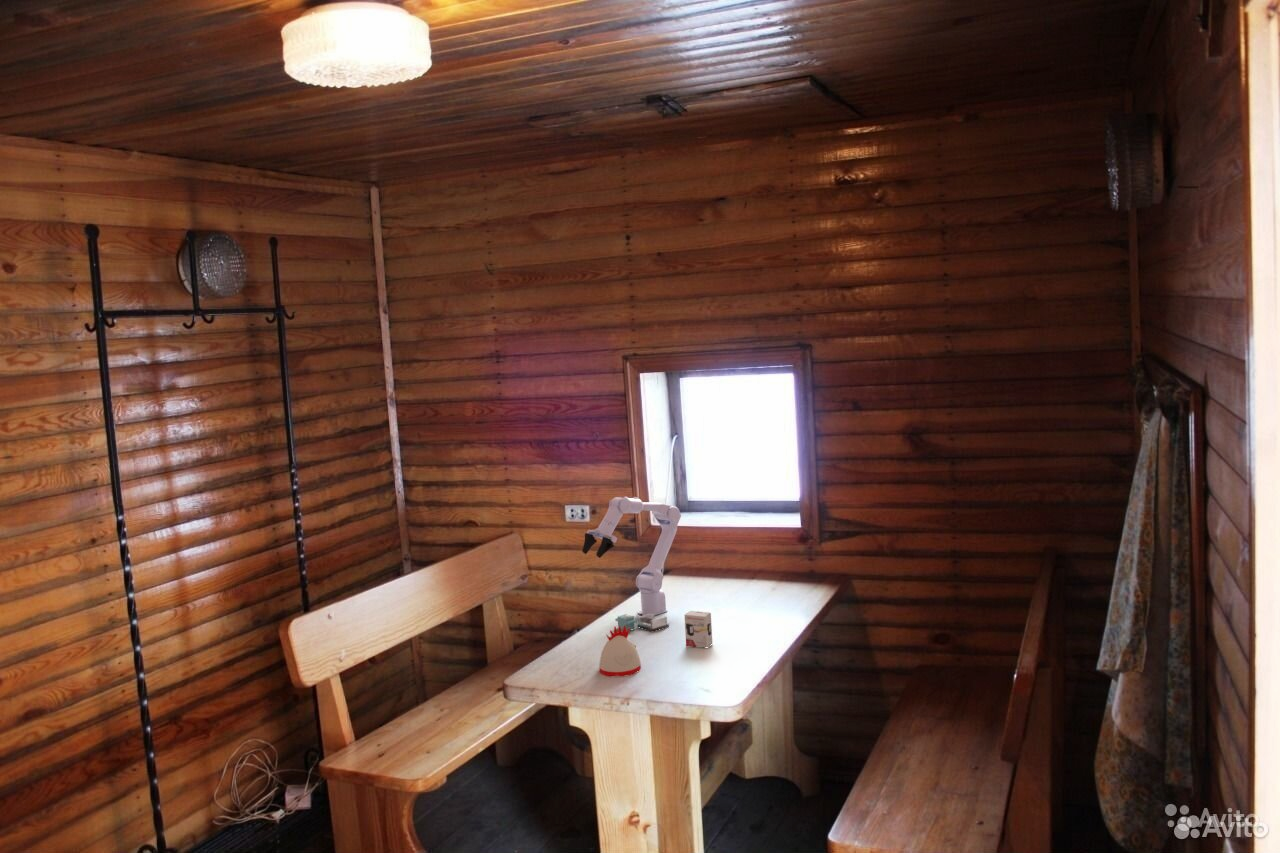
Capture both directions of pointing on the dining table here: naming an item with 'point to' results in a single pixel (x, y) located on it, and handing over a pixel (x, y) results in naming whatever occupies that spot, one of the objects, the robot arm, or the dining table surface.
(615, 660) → the chicken hat
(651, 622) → the plate
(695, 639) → the ink box
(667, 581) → the dining table surface
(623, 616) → the block
